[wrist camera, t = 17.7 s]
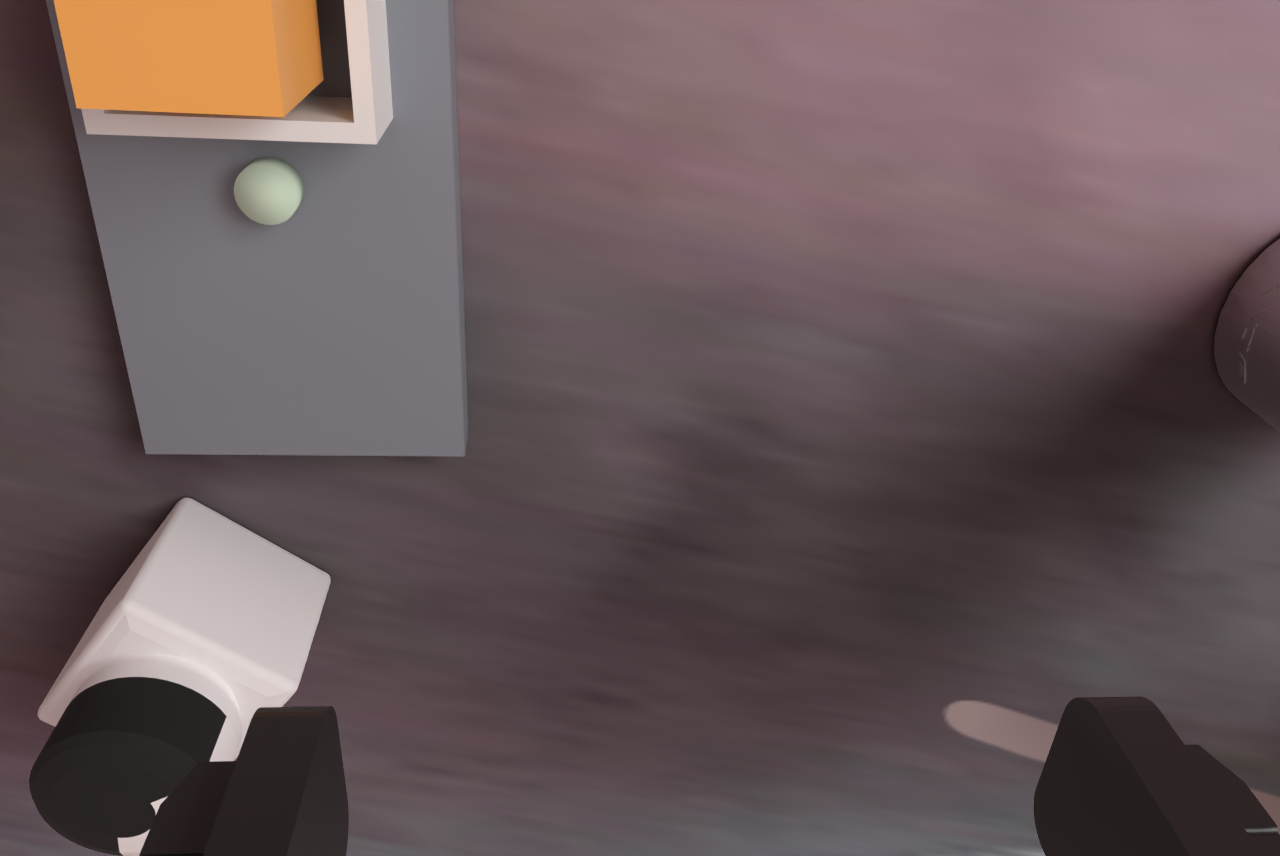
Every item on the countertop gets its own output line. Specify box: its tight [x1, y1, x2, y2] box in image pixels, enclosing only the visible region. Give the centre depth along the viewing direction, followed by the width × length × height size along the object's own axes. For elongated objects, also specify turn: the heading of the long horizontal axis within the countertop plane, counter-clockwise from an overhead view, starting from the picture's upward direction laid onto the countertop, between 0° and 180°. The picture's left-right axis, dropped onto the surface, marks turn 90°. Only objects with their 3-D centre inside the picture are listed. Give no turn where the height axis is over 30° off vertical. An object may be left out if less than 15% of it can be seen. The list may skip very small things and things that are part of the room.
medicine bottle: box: [29, 497, 331, 856], centre depth 38 cm, size 7×7×12 cm
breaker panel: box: [46, 0, 468, 457], centre depth 32 cm, size 12×24×6 cm, turn 177°
